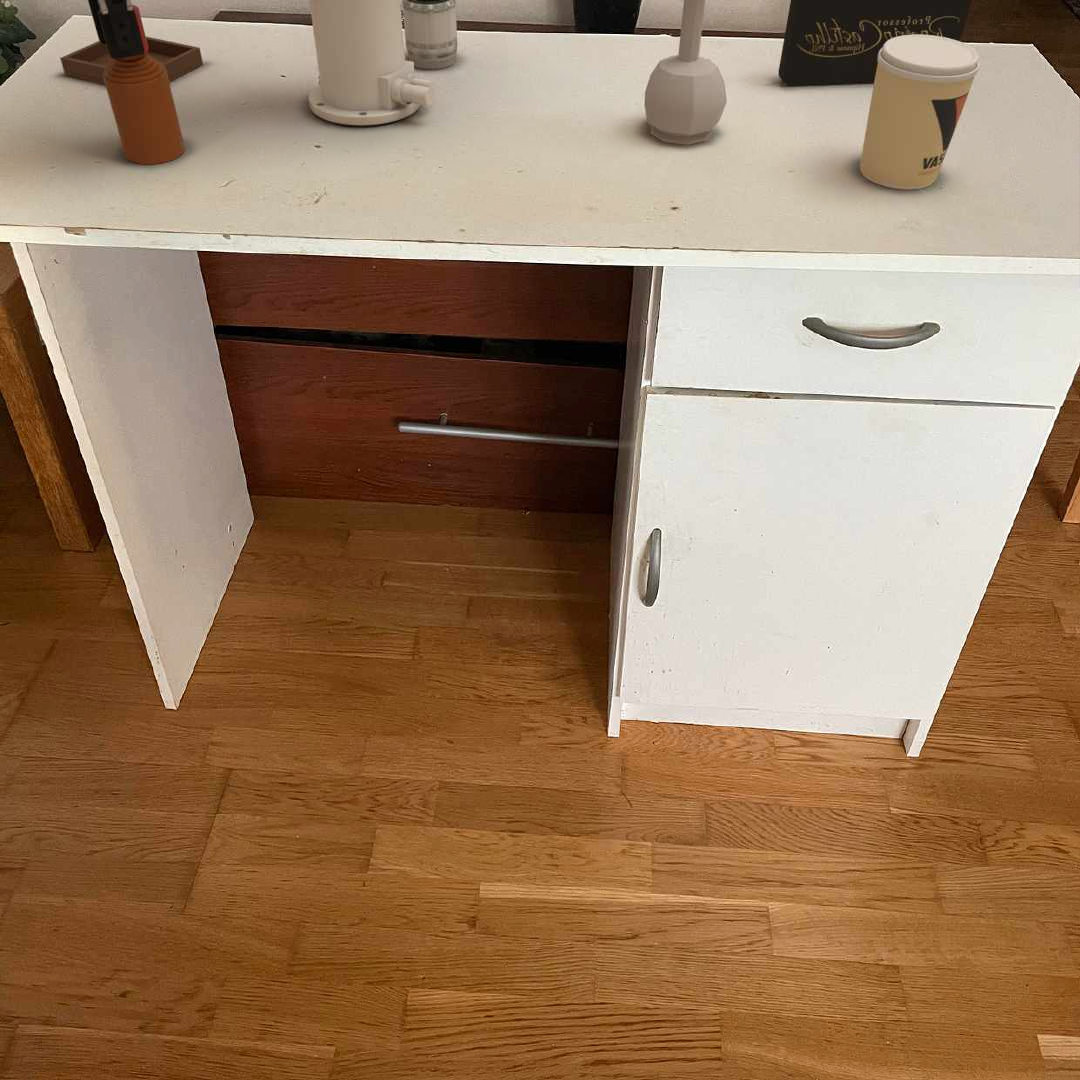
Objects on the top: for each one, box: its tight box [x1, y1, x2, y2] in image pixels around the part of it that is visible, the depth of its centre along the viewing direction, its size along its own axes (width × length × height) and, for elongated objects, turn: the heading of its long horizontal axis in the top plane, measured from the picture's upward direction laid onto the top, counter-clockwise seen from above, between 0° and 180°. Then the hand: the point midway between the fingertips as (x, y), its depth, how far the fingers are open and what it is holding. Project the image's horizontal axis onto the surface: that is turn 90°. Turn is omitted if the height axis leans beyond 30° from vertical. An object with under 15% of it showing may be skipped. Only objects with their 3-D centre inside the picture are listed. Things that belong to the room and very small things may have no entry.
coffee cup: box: [859, 35, 981, 191], centre depth 100 cm, size 9×9×12 cm
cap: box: [98, 4, 148, 58], centre depth 97 cm, size 4×4×4 cm
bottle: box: [103, 53, 186, 165], centre depth 101 cm, size 6×6×13 cm
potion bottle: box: [644, 0, 728, 145], centre depth 104 cm, size 9×9×18 cm
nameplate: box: [777, 0, 973, 87], centre depth 118 cm, size 21×2×10 cm, turn 98°
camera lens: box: [401, 0, 458, 70], centre depth 122 cm, size 6×6×8 cm
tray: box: [60, 36, 204, 85], centre depth 120 cm, size 12×10×2 cm
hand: (121, 46), depth 98 cm, fingers closed on cap, 3 cm apart
